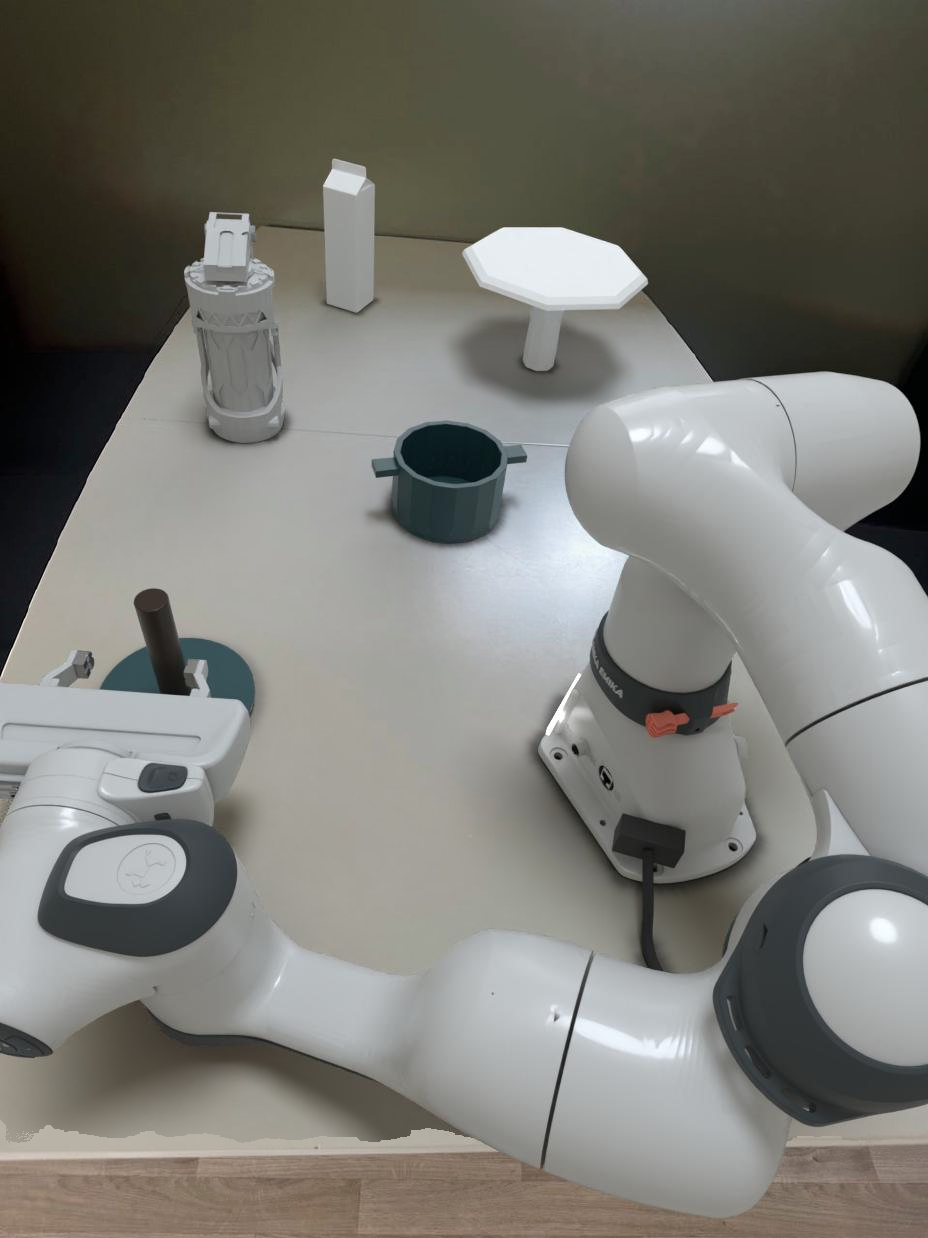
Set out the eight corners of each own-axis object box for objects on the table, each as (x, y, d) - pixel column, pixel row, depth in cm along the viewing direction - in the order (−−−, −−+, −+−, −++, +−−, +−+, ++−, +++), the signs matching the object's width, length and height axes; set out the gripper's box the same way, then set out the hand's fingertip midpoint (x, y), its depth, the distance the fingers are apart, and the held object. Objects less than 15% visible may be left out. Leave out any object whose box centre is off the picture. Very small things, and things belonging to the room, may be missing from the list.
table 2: (621, 424, 119) (650, 317, 107) (437, 393, 121) (446, 284, 108) (624, 336, 139) (650, 238, 127) (466, 311, 140) (476, 210, 128)
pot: (533, 533, 100) (544, 478, 94) (385, 552, 95) (386, 496, 89) (499, 468, 109) (507, 414, 103) (361, 483, 104) (361, 427, 98)
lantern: (285, 444, 108) (269, 258, 90) (205, 444, 106) (173, 254, 88) (286, 393, 117) (273, 213, 99) (213, 392, 115) (185, 209, 97)
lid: (264, 748, 75) (249, 649, 65) (98, 779, 71) (53, 680, 61) (246, 635, 84) (231, 533, 74) (98, 657, 80) (60, 553, 70)
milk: (343, 291, 141) (341, 152, 125) (374, 300, 139) (376, 161, 123) (326, 304, 137) (321, 162, 121) (357, 313, 135) (356, 171, 119)
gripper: (-51, 816, 59) (24, 674, 69) (231, 834, 60) (265, 692, 70) (-83, 767, 54) (2, 623, 64) (222, 787, 56) (260, 643, 66)
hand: (141, 659), depth 67 cm, fingers open, 8 cm apart
